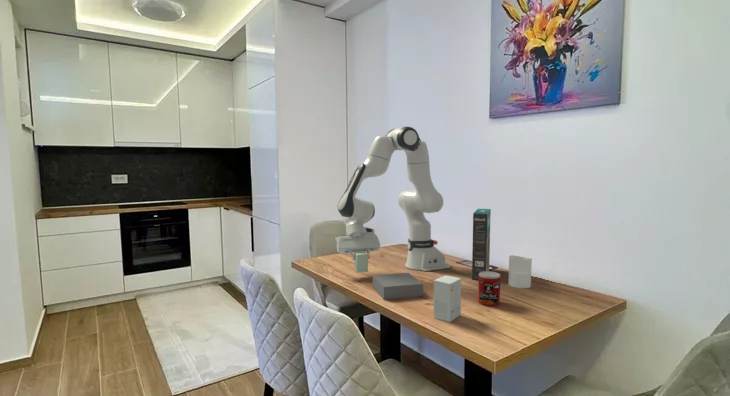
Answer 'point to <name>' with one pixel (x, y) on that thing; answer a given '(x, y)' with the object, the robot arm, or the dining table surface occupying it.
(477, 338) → the dining table surface
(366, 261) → the sage block
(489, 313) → the dining table surface
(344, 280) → the dining table surface
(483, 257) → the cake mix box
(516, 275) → the base with upright slab
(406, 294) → the stand
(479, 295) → the canned food
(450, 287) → the small box
